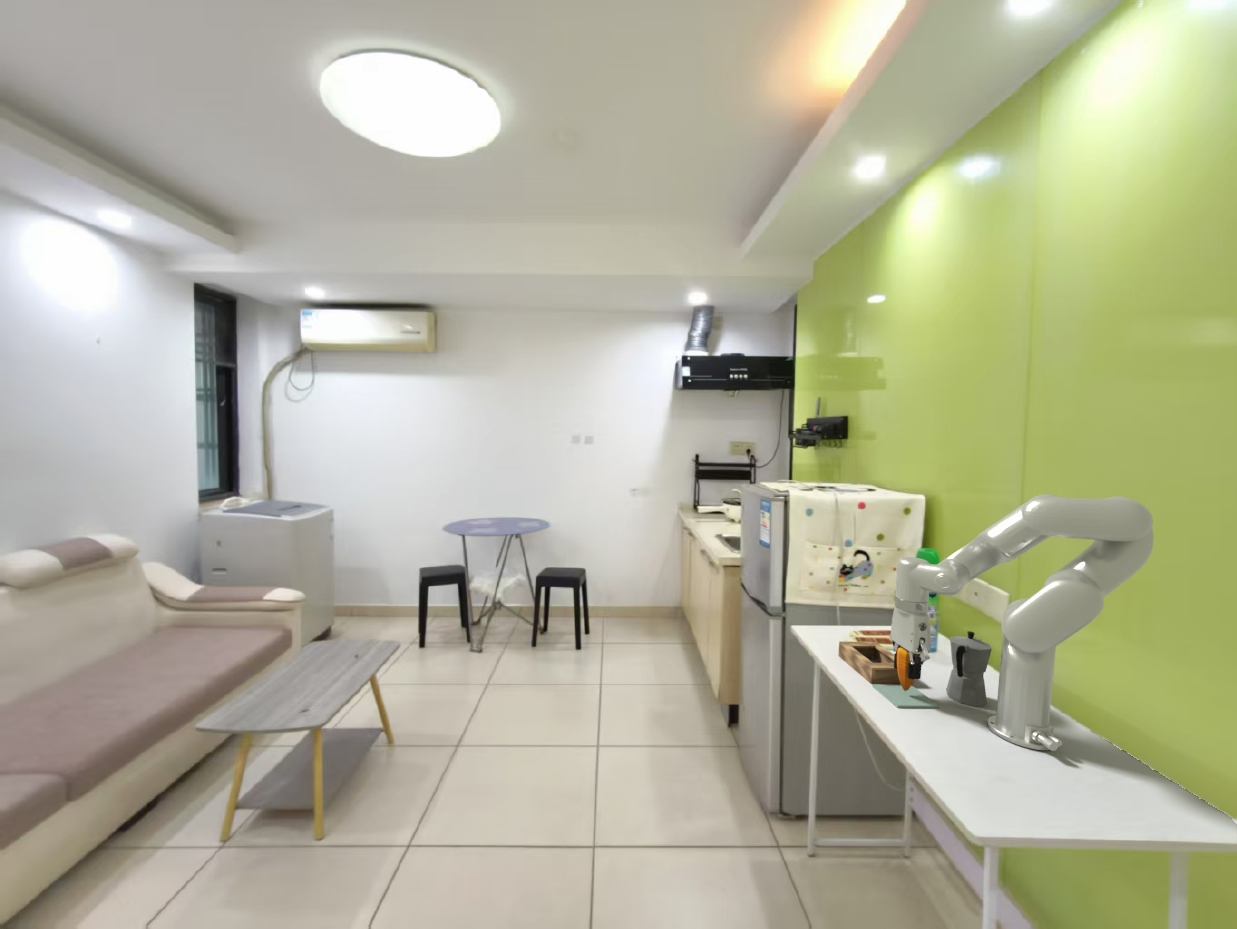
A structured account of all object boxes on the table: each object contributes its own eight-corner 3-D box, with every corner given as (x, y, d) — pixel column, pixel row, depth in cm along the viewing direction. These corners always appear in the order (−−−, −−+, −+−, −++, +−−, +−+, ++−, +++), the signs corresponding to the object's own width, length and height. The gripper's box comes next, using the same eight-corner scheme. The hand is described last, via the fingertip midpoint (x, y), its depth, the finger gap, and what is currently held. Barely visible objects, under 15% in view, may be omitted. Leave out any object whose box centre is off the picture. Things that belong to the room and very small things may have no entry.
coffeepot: (954, 684, 141) (958, 621, 140) (994, 698, 134) (1000, 632, 133) (933, 700, 131) (938, 632, 130) (976, 716, 124) (981, 645, 123)
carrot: (896, 684, 136) (900, 630, 135) (917, 690, 132) (921, 635, 132) (892, 691, 132) (896, 635, 131) (914, 697, 129) (918, 640, 128)
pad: (938, 708, 127) (938, 705, 127) (897, 707, 126) (897, 705, 126) (910, 686, 138) (910, 684, 138) (872, 686, 137) (872, 684, 137)
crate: (912, 684, 140) (913, 668, 140) (871, 683, 139) (872, 667, 139) (875, 656, 158) (876, 642, 157) (838, 655, 157) (839, 641, 157)
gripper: (948, 616, 123) (943, 689, 124) (904, 595, 140) (900, 659, 141) (919, 616, 122) (914, 689, 123) (878, 595, 139) (874, 659, 140)
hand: (906, 672), depth 132 cm, fingers closed on carrot, 5 cm apart
